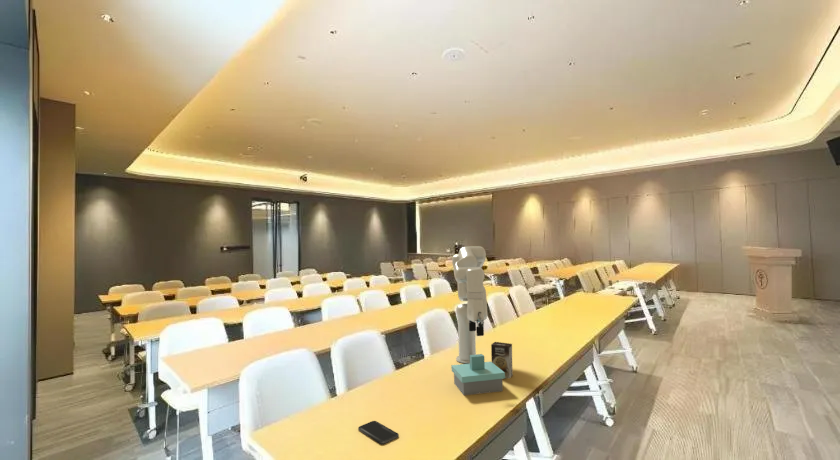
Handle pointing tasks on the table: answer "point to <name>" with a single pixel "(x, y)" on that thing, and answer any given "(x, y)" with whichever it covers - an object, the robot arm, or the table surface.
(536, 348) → the table surface
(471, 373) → the lid
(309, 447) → the table surface
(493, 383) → the tub
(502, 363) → the coffee box
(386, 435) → the phone
